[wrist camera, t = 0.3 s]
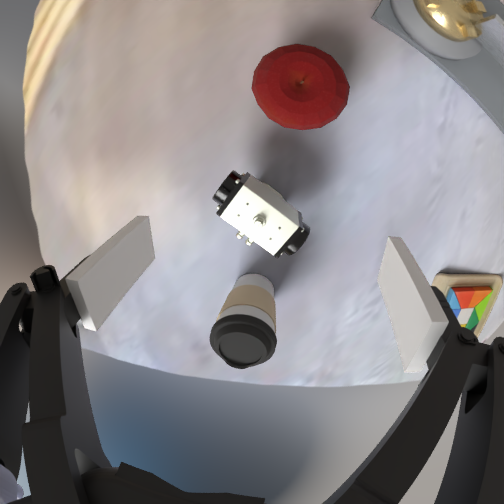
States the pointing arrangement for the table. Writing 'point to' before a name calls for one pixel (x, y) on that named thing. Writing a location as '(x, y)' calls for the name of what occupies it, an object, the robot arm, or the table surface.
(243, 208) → the pneumatic valve
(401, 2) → the grey flat slab
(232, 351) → the coffee cup
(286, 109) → the apple
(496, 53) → the two-tone lugged fixture
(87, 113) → the table surface
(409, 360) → the robot arm
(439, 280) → the wooden puzzle
